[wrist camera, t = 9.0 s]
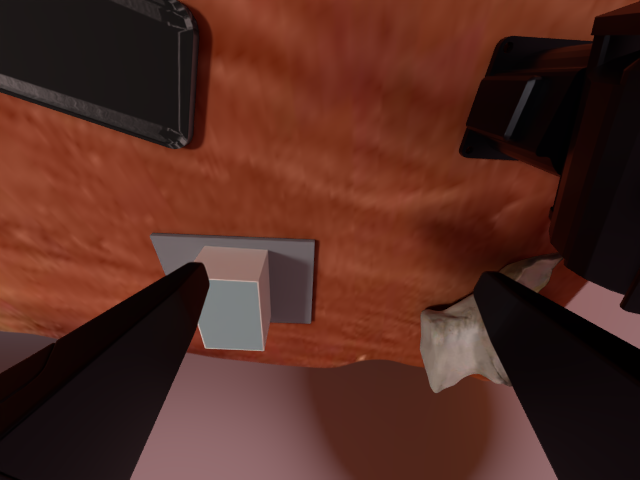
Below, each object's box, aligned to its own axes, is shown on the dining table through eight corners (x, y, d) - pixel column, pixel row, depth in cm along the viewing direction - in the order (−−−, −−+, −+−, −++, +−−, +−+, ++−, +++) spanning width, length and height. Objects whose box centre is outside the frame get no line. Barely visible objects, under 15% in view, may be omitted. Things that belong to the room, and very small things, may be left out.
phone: (187, 153, 17) (-92, 62, 14) (194, 149, 17) (-65, 63, 15) (195, 4, 12) (-201, -172, 10) (203, 10, 13) (-155, -149, 10)
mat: (314, 239, 21) (314, 242, 21) (310, 320, 27) (310, 323, 27) (152, 233, 21) (149, 235, 21) (185, 316, 27) (183, 319, 27)
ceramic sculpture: (418, 388, 18) (654, 301, 14) (385, 301, 26) (535, 228, 22) (459, 431, 23) (642, 376, 19) (422, 349, 31) (549, 296, 27)
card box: (270, 316, 26) (263, 351, 23) (219, 313, 26) (205, 348, 23) (267, 249, 21) (258, 281, 18) (204, 245, 21) (182, 277, 18)
